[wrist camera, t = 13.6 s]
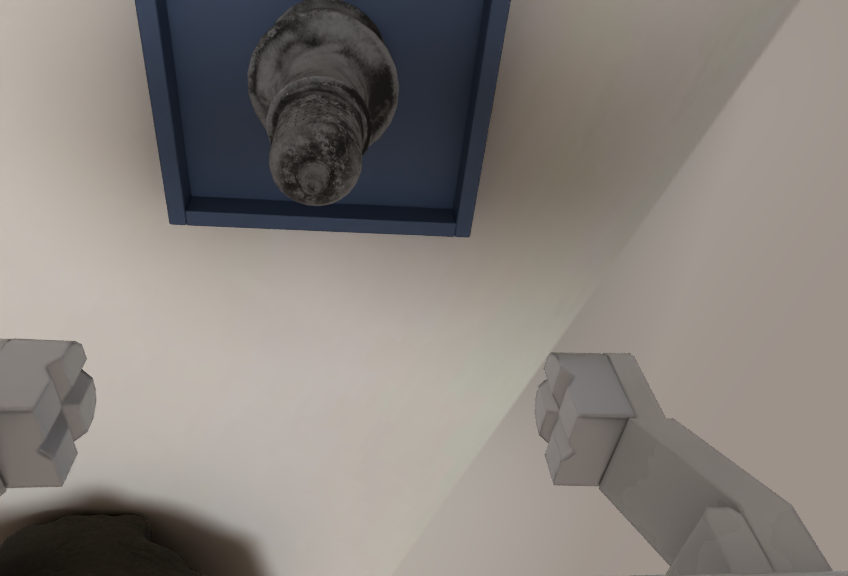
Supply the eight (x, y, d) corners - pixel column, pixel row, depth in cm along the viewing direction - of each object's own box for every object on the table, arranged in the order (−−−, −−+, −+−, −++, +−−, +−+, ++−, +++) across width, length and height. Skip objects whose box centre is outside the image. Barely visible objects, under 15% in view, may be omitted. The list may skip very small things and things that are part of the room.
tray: (516, -103, 25) (528, -98, 23) (464, 217, 33) (469, 237, 32) (128, -149, 23) (111, -147, 21) (178, 204, 31) (169, 225, 30)
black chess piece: (229, 39, 26) (158, 163, 17) (344, -41, 25) (337, 44, 15) (313, 149, 30) (293, 305, 20) (419, 83, 28) (451, 217, 19)
